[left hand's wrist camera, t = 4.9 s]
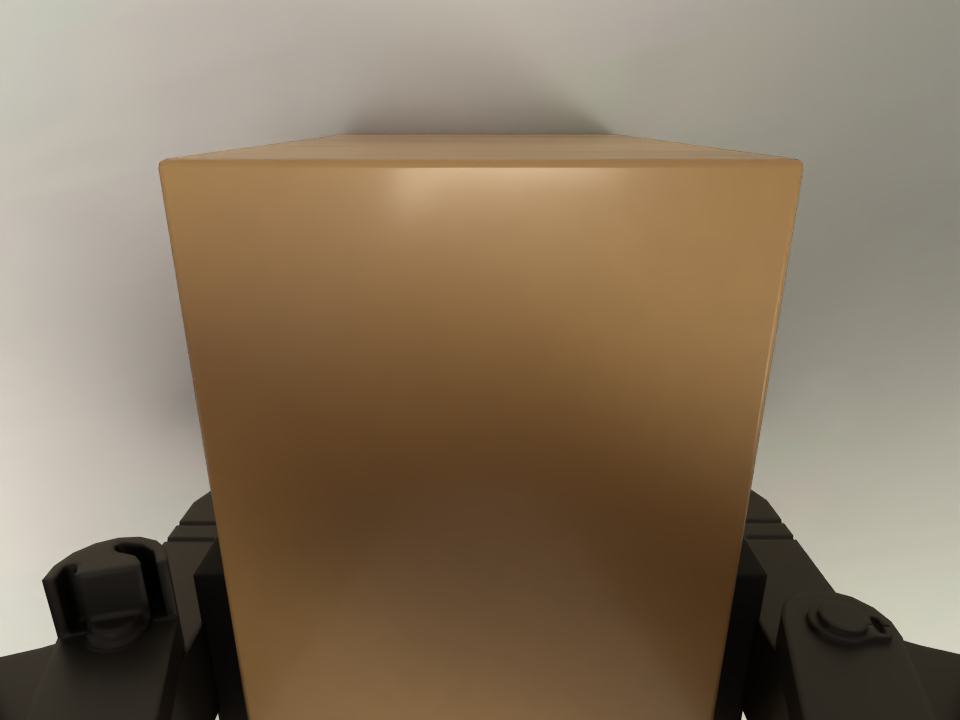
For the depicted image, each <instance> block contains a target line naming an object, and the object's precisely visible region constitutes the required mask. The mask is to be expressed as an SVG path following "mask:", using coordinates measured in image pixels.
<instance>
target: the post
mask: <svg viewBox="0 0 960 720" xmlns="http://www.w3.org/2000/svg"><path fill="white" fill-rule="evenodd" d="M802 172H803V165H802V162H801V161H799V160H797V159H793V158H785V157H778V156H770V155H763V154H756V153H748V152H741V151H734V150H726V149H719V148H712V147H704V146H697V145H690V144H682V143H675V142H668V141H660V140H653V139H646V138H638V137H631V136H623V135H616V134H344V135H337V136H329V137H322V138H315V139H307V140H300V141H293V142H285V143H278V144H271V145H264V146H256V147H249V148H242V149H234V150H227V151H220V152H212V153H205V154H198V155H191V156H183V157H176V158H169V159H165V160H163V161H160V163H159V174H160V180H161V186H162V192H163V199H164V205H165V211H166V217H167V223H168V229H169V236H170V242H171V248H172V254H173V260H174V267H175V273H176V279H177V285H178V291H179V297H180V304H181V310H182V316H183V322H184V328H185V334H186V341H187V347H188V353H189V359H190V365H191V372H192V378H193V384H194V390H195V396H196V402H197V409H198V415H199V421H200V427H201V433H202V439H203V446H204V452H205V458H206V464H207V470H208V477H209V483H210V489H211V495H212V501H213V507H214V514H215V520H216V526H217V532H218V538H219V544H220V551H221V557H222V563H223V569H224V575H225V582H226V588H227V594H228V600H229V606H230V612H231V619H232V625H233V631H234V637H235V643H236V649H237V656H238V662H239V668H240V674H241V680H242V686H243V693H244V699H245V705H246V711H247V717H248V720H713V718H714V712H715V706H716V699H717V693H718V687H719V681H720V675H721V669H722V663H723V656H724V650H725V644H726V638H727V632H728V626H729V620H730V614H731V607H732V601H733V595H734V589H735V583H736V577H737V571H738V564H739V558H740V552H741V546H742V540H743V534H744V528H745V521H746V515H747V509H748V503H749V497H750V491H751V485H752V479H753V472H754V466H755V460H756V454H757V448H758V442H759V436H760V429H761V423H762V417H763V411H764V405H765V399H766V393H767V387H768V380H769V374H770V368H771V362H772V356H773V350H774V344H775V337H776V331H777V325H778V319H779V313H780V307H781V301H782V295H783V288H784V282H785V276H786V270H787V264H788V258H789V252H790V245H791V239H792V233H793V227H794V221H795V215H796V209H797V203H798V196H799V190H800V184H801V178H802Z"/></svg>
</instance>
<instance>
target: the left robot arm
mask: <svg viewBox="0 0 960 720" xmlns="http://www.w3.org/2000/svg"><path fill="white" fill-rule="evenodd" d="M42 582H43V586H44V590H45V593H46V597H47V600H48V604H49V607H50V611H51V615H52V618H53V622H54V625H55V629H56V633H57V636H58V639H57V641H56V644H53V645H50V646H46V647H43V648H39V649H35V650H30V651H26V652H21V653H17V654H13V655H8V656H4V657H0V720H215V719H216V716H217V714H218V715H219V720H248V717H247V711H246V705H245V699H244V693H243V686H242V680H241V674H240V668H239V662H238V656H237V649H236V643H235V637H234V631H233V625H232V619H231V612H230V606H229V600H228V594H227V588H226V582H225V575H224V569H223V563H222V557H221V551H220V544H219V538H218V532H217V526H216V520H215V514H214V507H213V501H212V495H211V491H210V492H209V493H207V494H206V495H204V496H203V497H201V498H200V499H198V500H197V501H195V502H194V503H193V504H192V506H191V507H190V508H189V510H188V511H187V512H186V514H185V515H184V516H183V518H182V519H181V521H180V524H179V526H176V527H175V529H174V530H173V531H172V533H171V534H170V535H169V537H168V541H167V542H164V544H163V545H161V544H160V543H159V542H157V541H156V540H151V539H147V538H143V537H125V538H116V539H112V540H108V541H103V542H99V543H95V544H93V545H91V546H88V547H86V548H84V549H81V550H79V551H77V552H74V553H72V554H71V555H69V556H68V557H66V558H65V559H64V560H62V561H61V562H59V563H58V564H56V565H55V566H54V567H53V568H52V569H51V570H50V571H49V573H48V574H47V575H46V576H45V577H44V579H43V580H42ZM742 712H744V714H745V717H746V719H747V720H960V654H956V653H952V652H947V651H943V650H938V649H934V648H929V647H925V646H920V645H917V644H914V643H910V642H907V641H904V640H903V638H902V636H901V635H900V633H899V632H898V631H897V629H896V628H895V626H894V625H893V623H892V622H891V621H890V620H889V619H887V618H886V617H885V616H883V615H882V614H881V613H880V612H878V611H877V610H876V609H875V608H873V607H871V606H869V605H867V604H865V603H863V602H861V601H859V600H857V599H855V598H853V597H850V596H847V595H843V594H839V593H836V592H835V591H834V590H833V588H832V587H831V586H830V584H829V583H828V582H827V580H826V579H825V578H824V576H823V575H822V574H821V572H820V571H819V570H818V568H817V567H816V566H815V564H814V563H813V562H812V560H811V559H810V557H809V556H808V555H807V553H806V552H805V551H804V549H803V548H802V547H801V545H800V544H799V543H798V541H797V540H794V539H793V535H792V533H791V532H790V531H789V529H788V528H787V527H786V525H785V524H784V523H781V519H780V517H779V516H778V515H777V513H776V512H775V511H774V509H773V508H772V506H771V505H770V504H769V502H768V501H767V500H766V499H764V498H763V497H761V496H760V495H758V494H757V493H755V492H754V491H752V490H751V491H750V497H749V503H748V509H747V515H746V521H745V528H744V534H743V540H742V546H741V552H740V558H739V564H738V571H737V577H736V583H735V589H734V595H733V601H732V607H731V614H730V620H729V626H728V632H727V638H726V644H725V650H724V656H723V663H722V669H721V675H720V681H719V687H718V693H717V699H716V706H715V712H714V718H713V720H741V718H742Z"/></svg>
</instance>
